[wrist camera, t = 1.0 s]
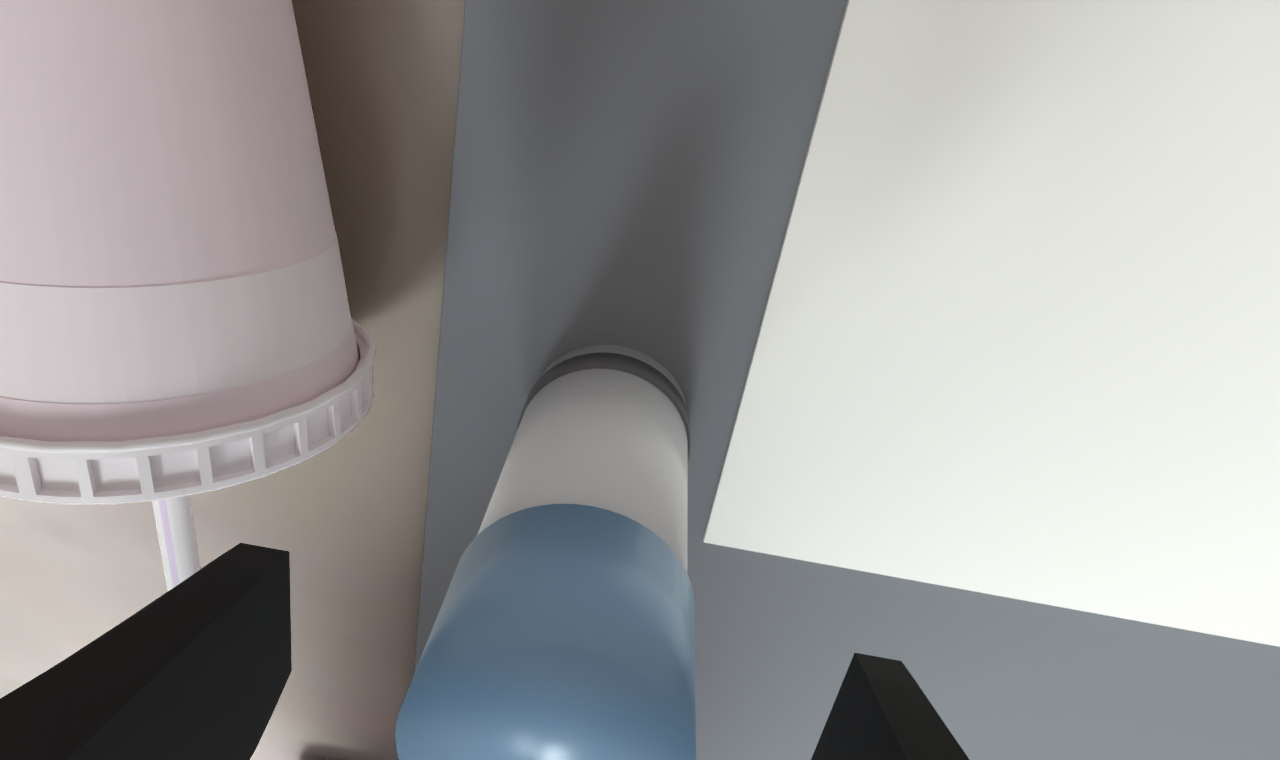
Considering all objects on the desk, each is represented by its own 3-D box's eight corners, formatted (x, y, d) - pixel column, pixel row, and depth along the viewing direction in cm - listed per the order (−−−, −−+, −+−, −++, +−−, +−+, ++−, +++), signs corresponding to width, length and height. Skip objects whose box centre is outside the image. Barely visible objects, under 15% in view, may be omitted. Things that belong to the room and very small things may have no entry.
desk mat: (1232, 861, 22) (1239, 872, 21) (413, 720, 21) (409, 729, 21) (1984, -67, 12) (2014, -68, 12) (500, -387, 11) (495, -397, 11)
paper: (1409, 665, 18) (1415, 671, 18) (703, 537, 17) (703, 542, 17) (1866, 111, 13) (1879, 112, 13) (873, -95, 12) (875, -96, 12)
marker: (674, 501, 17) (664, 874, 10) (515, 471, 17) (389, 827, 10) (708, 357, 16) (726, 674, 8) (535, 324, 16) (402, 616, 8)
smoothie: (234, -431, 7) (332, 761, 12) (399, -221, 13) (416, 526, 18) (-606, -549, 6) (-115, 751, 12) (-32, -273, 12) (119, 512, 18)
